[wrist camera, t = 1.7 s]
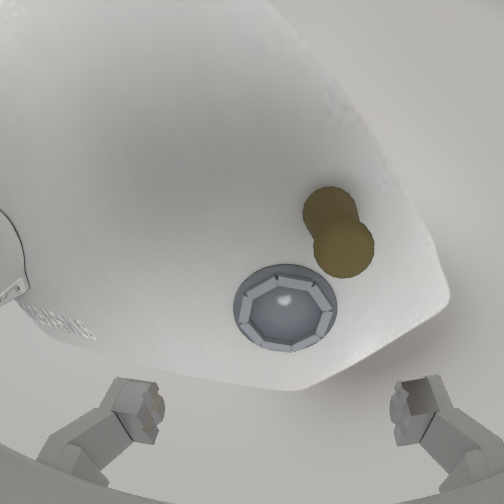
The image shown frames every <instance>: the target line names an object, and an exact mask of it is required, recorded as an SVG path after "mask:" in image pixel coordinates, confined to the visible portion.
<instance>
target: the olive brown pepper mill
mask: <svg viewBox="0 0 504 504" xmlns="http://www.w3.org/2000/svg"><path fill="white" fill-rule="evenodd" d="M303 220H304V222H305V224H306V227H307V229H308V230H309V232H310V234H311V235H312V237H313V239H314V244H313V248H314V257H315V259H316V261H317V264H318V265H319V266H320V267H321V269H322V270H323V271H324V272H325V273H327V274H329V275H330V276H332V277H336V278H341V279H342V278H351V277H354V276H356V275H359V274H360V273H361V272H363V271H364V270H365V269H366V268H367V267H368V265H369V264H370V263H371V261H372V258H373V255H374V240H373V237H372V234H371V232H370V231H369V230H368V229H367V227H366V226H365V225H364V224H363V223H361V222H360V220H359V216H358V212H357V208H356V205H355V203H354V200H353V199H352V197H351V196H350V195H349V194H348V193H347V192H345V191H344V190H342V189H340V188H336V187H324V188H321V189H319V190H316V191H315V192H314V193H312V194H311V195H310V196H309V197H308V199H307V201H306V202H305V204H304V208H303Z"/></svg>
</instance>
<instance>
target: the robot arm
mask: <svg viewBox="0 0 504 504" xmlns="http://www.w3.org/2000/svg"><path fill="white" fill-rule="evenodd" d="M28 289H29V284H28V281H27V278H26V275H25V271H24V256H23V251H22V247H21V244H20V241H19V238H18V236H17V234H16V232H15V230H14V228H13V226H12V224H11V223H10V221H9V220H8V219H7V218H6V216H5V215H4V214H3V213H2V212H1V211H0V307H1V306H2V305H4V304H6V303H7V302H9V301H11V300H12V299H14V298H16V297H18V296H19V295H21V294H23V293H25V292H26V291H28ZM158 390H159V388H158V386H157V384H156V383H155V382H148V381H142V380H134V379H128V378H121V377H117V378H115V379H114V380H113V382H112V384H111V386H110V388H109V389H108V391H107V393H106V395H105V397H104V399H103V401H102V402H101V404H100V406H99V408H94V409H92V410H91V411H89V412H88V413H86V414H84V415H83V416H81V417H79V418H78V419H76V420H75V421H73V422H71V423H70V424H68V425H67V426H65V427H63V428H62V429H60V430H58V431H57V432H55V433H53V434H52V435H50V436H49V438H48V439H47V441H46V443H45V444H44V446H43V448H42V450H41V452H40V453H39V455H38V457H37V459H36V460H33V459H31V458H29V457H27V456H25V455H23V454H21V453H19V452H17V451H15V450H12V449H11V448H9V447H7V446H5V445H3V444H1V443H0V504H174V503H168V502H163V501H158V500H154V499H149V498H144V497H141V496H137V495H132V494H129V493H125V492H121V491H118V490H114V489H111V488H107V487H108V484H109V481H108V479H107V478H106V477H105V476H104V475H103V474H102V473H101V470H102V469H103V468H104V467H105V466H107V465H108V464H109V463H110V462H111V461H112V460H114V459H115V458H116V457H117V456H118V455H119V454H121V453H122V452H123V451H124V450H125V449H126V448H127V447H128V446H130V445H131V444H132V443H133V442H139V443H145V444H151V445H154V443H155V440H156V437H157V434H158V432H159V430H158V428H157V425H158V424H159V423H160V422H162V420H163V417H164V413H165V404H164V400H163V398H162V397H161V396H160V395H159V394H158ZM395 392H396V393H395V394H393V395H392V397H391V400H390V409H389V410H390V417H391V421H392V422H393V423H394V424H395V425H396V427H395V429H394V435H395V439H396V444H397V446H404V445H410V444H417V443H420V445H421V446H422V447H423V448H424V449H425V450H426V451H427V452H428V453H429V454H430V455H431V456H432V458H433V459H434V460H436V462H437V463H438V464H439V465H441V467H442V468H443V469H444V470H445V471H446V472H447V473H448V474H449V476H448V477H447V478H446V479H445V480H444V482H443V483H442V484H441V485H440V487H439V491H440V493H439V494H436V495H432V496H428V497H424V498H420V499H415V500H411V501H406V502H401V503H396V504H504V442H503V440H502V439H501V438H499V437H498V436H497V435H495V434H494V433H492V432H491V431H490V430H488V429H486V428H485V427H484V426H482V425H481V424H480V423H478V422H477V421H475V420H474V419H472V418H471V417H470V416H468V415H467V414H465V413H464V412H463V411H461V410H460V409H459V408H454V407H453V405H452V403H451V400H450V398H449V395H448V393H447V391H446V388H445V386H444V384H443V381H442V379H441V377H440V376H439V375H438V374H435V375H429V376H421V377H415V378H408V379H401V380H398V381H397V382H396V384H395ZM132 441H133V442H132Z"/></svg>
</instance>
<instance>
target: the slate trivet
mask: <svg viewBox="0 0 504 504" xmlns="http://www.w3.org/2000/svg"><path fill="white" fill-rule="evenodd" d="M233 312H234V318H235V321H236V324H237V326H238V328H239V329H240V331H241V332H242V333H243V334H244V335H245V336H246V337H247V338H248V339H249V340H250V341H252V342H253V343H255V344H256V345H257V346H261V348H266V349H269V350H274V351H283V352H289V353H291V351H294V352H296V351H298V350H301V349H304V348H307V347H309V346H312V345H313V344H315V343H317V342H318V341H320V340H321V339H322V338H323V337H325V336H326V335H327V333H328V332H329V331H330V329H331V328H332V326H333V324H334V322H335V319H336V315H337V303H336V298H335V295H334V292H333V290H332V288H331V286H330V285H329V284H328V282H327V281H326V280H325V279H324V278H323V277H322V276H320V275H319V274H318V273H316V272H314V271H312V270H310V269H308V268H305V267H302V266H298V265H290V264H282V265H274V266H270V267H266V268H264V269H261V270H259V271H257V272H255V273H254V274H252V275H251V276H249V277H248V278H247V279H246V280H245V281H244V282H243V284H242V285H241V286H240V288H239V289H238V291H237V294H236V297H235V301H234V307H233Z"/></svg>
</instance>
